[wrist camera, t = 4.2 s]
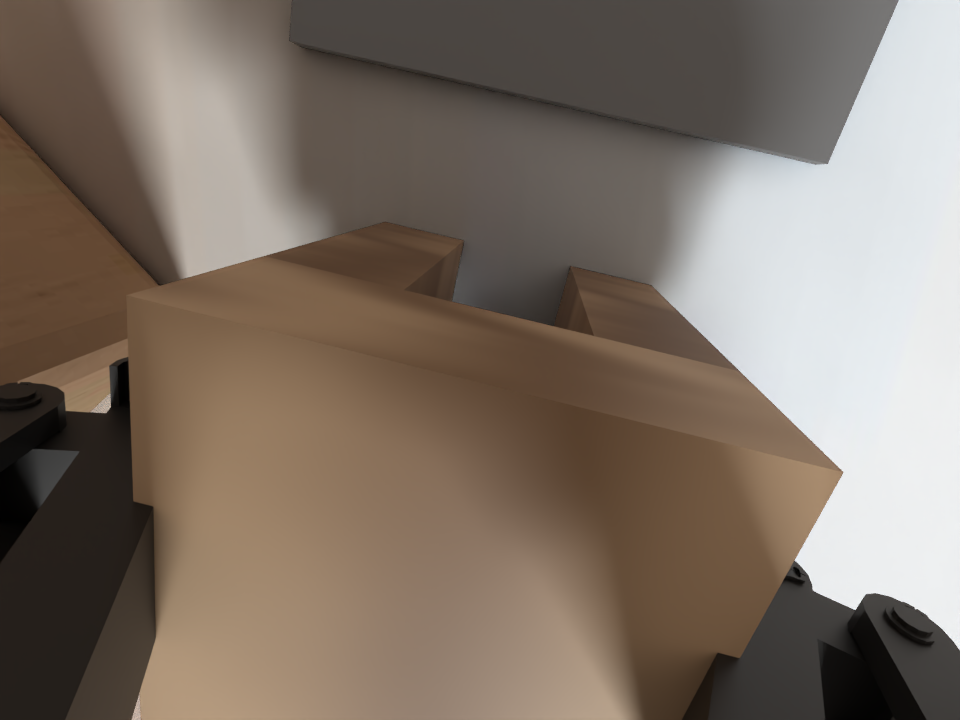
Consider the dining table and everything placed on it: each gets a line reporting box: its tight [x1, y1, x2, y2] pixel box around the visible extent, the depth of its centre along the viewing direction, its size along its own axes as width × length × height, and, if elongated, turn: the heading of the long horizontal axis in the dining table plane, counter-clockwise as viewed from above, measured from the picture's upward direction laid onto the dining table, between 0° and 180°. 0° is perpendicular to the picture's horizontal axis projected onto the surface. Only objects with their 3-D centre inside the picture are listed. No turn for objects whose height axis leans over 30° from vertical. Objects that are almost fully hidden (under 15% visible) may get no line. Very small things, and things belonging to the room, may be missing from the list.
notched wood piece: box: [126, 222, 843, 720], centre depth 12 cm, size 8×8×10 cm
